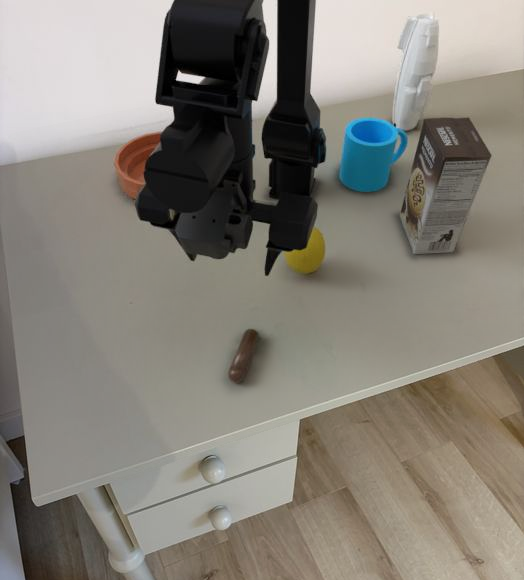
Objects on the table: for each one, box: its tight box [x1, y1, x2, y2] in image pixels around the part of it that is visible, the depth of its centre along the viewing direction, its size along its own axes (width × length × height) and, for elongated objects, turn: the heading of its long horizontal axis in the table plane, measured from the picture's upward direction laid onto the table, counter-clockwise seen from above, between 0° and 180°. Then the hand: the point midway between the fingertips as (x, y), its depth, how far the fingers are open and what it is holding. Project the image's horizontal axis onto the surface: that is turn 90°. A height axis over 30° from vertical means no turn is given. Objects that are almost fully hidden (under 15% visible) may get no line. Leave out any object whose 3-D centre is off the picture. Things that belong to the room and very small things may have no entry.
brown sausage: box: [227, 328, 260, 384], centre depth 65 cm, size 8×2×2 cm
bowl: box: [113, 131, 163, 200], centre depth 87 cm, size 15×15×4 cm
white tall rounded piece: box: [391, 11, 440, 132], centre depth 92 cm, size 7×18×7 cm
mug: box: [338, 117, 408, 193], centre depth 86 cm, size 12×8×8 cm
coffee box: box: [399, 117, 493, 255], centre depth 74 cm, size 9×6×16 cm
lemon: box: [284, 226, 326, 275], centre depth 72 cm, size 6×6×8 cm
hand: (230, 266), depth 63 cm, fingers open, 9 cm apart
